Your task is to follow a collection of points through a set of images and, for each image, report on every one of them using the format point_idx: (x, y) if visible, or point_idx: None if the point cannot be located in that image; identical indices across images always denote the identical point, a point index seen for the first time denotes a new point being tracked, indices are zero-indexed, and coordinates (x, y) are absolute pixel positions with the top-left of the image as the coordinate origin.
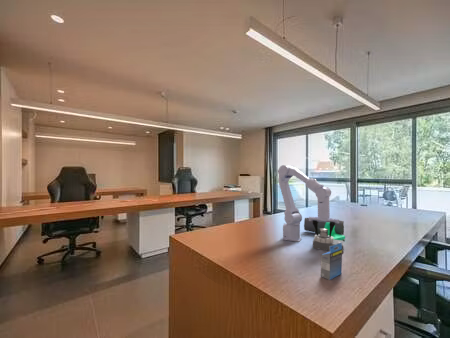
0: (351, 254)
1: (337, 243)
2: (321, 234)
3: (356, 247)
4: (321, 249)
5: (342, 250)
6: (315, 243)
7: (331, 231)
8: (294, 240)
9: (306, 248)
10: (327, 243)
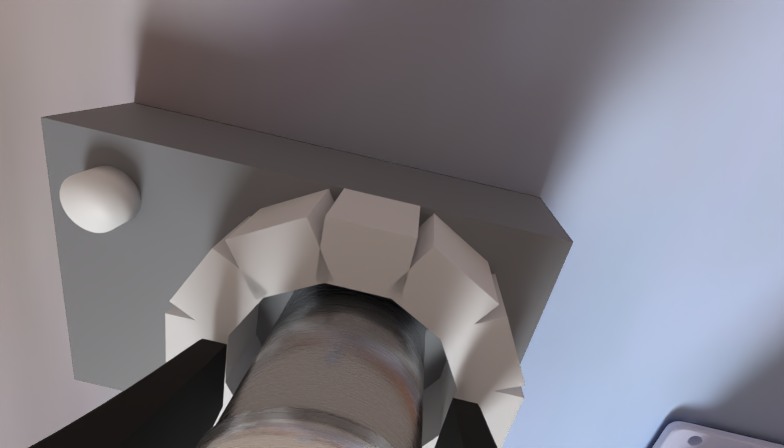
0: (31, 54)
1: (132, 191)
2: (386, 368)
3: (12, 340)
4: (419, 171)
5: (121, 107)
6: (517, 217)
7: (76, 426)
8: (743, 441)
9: (647, 169)
10: (307, 179)
